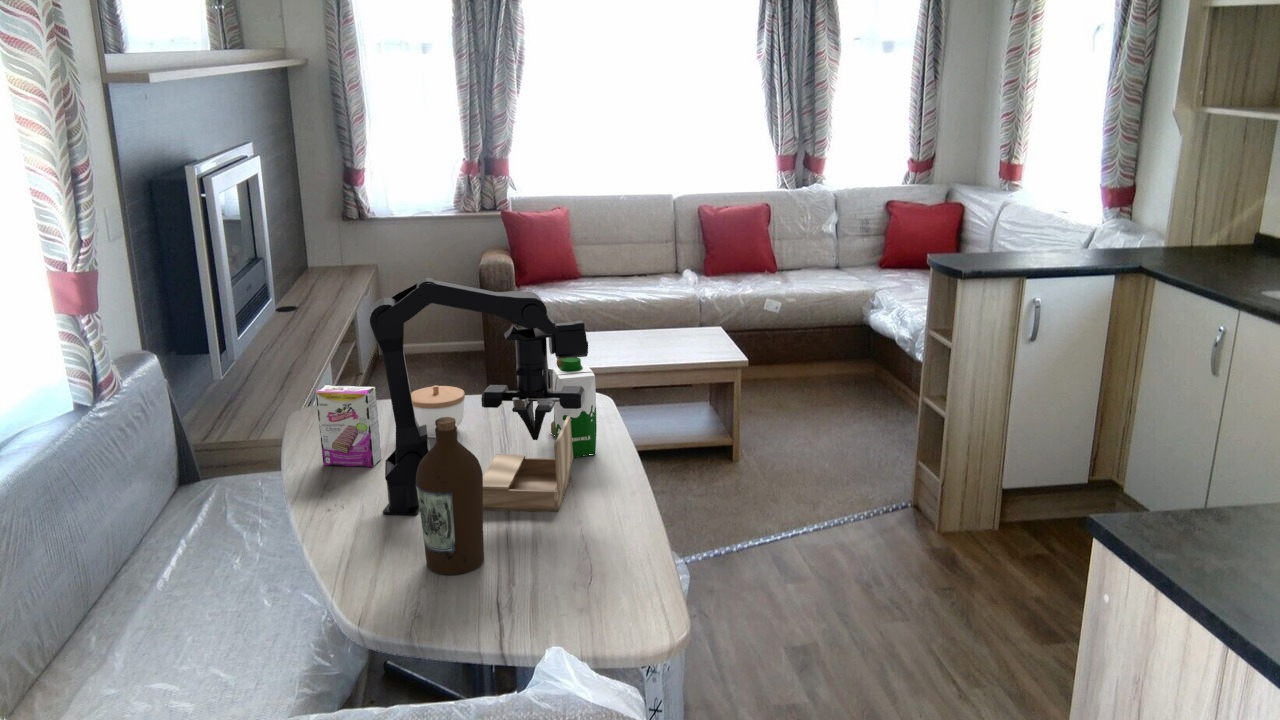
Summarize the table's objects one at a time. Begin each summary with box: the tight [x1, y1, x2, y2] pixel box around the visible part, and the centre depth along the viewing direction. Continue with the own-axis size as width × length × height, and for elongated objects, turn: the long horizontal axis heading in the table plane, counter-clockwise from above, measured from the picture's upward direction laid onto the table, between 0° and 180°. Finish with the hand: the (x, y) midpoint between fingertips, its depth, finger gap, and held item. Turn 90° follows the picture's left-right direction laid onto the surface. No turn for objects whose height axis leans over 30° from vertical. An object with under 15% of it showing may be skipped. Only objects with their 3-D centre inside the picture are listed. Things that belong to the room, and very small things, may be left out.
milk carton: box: [552, 357, 597, 458], centre depth 202 cm, size 9×9×20 cm
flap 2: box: [553, 416, 574, 491], centre depth 181 cm, size 16×9×1 cm
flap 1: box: [483, 453, 526, 490], centre depth 183 cm, size 16×6×1 cm, turn 175°
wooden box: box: [483, 457, 572, 512], centre depth 184 cm, size 16×15×4 cm
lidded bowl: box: [411, 385, 466, 439], centre depth 215 cm, size 13×13×11 cm
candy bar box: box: [315, 384, 383, 468], centre depth 197 cm, size 11×5×16 cm, turn 84°
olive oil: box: [416, 417, 485, 576], centre depth 154 cm, size 11×11×25 cm
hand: (535, 439), depth 181 cm, fingers closed
